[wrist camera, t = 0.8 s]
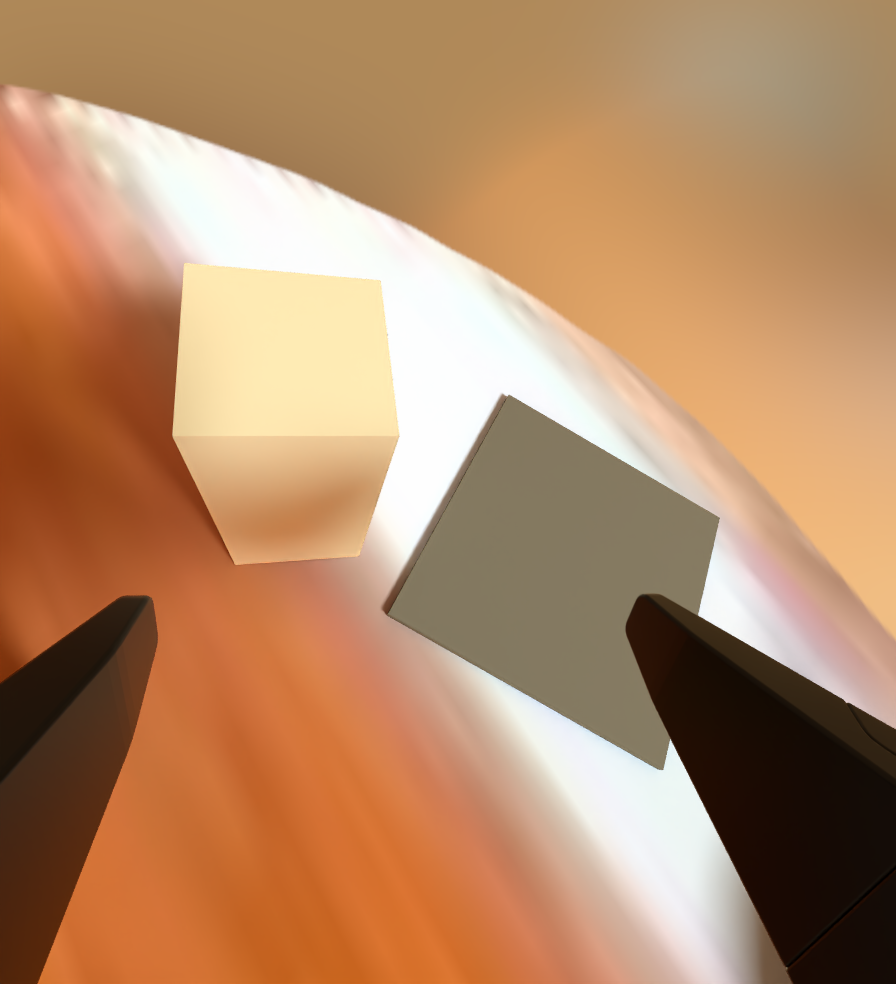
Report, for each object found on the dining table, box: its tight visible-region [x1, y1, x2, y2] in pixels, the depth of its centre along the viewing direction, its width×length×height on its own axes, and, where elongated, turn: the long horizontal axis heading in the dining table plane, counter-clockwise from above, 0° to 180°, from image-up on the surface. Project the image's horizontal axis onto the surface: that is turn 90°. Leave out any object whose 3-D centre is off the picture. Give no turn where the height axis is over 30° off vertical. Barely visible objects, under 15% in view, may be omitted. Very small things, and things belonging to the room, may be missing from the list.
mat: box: [387, 395, 720, 770], centre depth 27 cm, size 15×15×1 cm
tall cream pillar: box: [172, 263, 399, 565], centre depth 19 cm, size 6×6×12 cm
